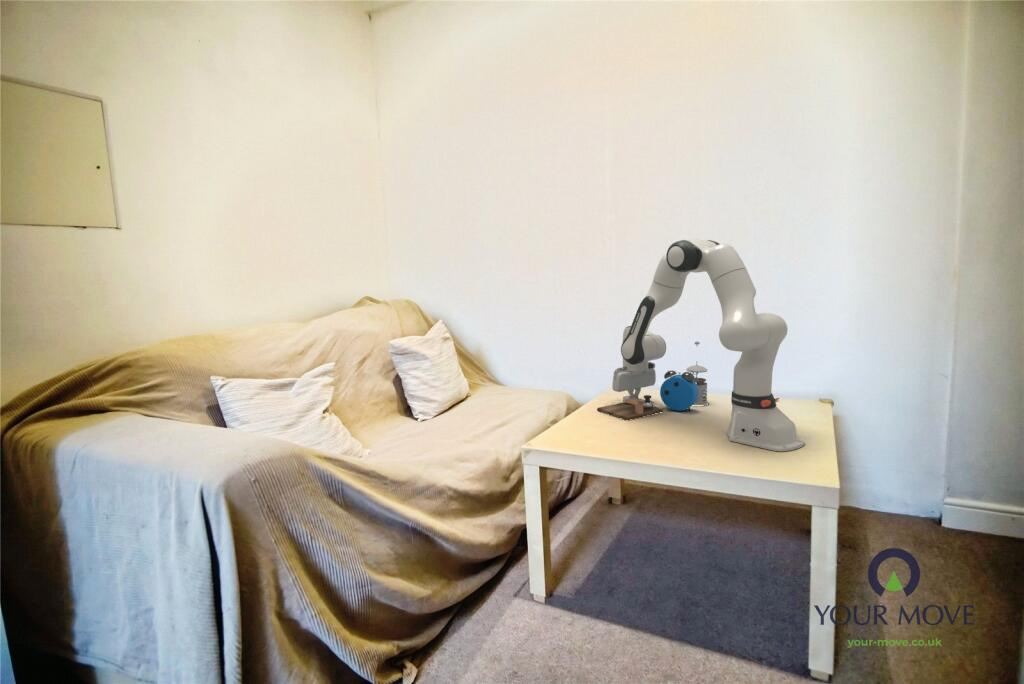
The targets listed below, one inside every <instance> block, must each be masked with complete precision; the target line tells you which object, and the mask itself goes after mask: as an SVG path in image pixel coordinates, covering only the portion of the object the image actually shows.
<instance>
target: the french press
mask: <svg viewBox="0 0 1024 684" xmlns="http://www.w3.org/2000/svg"><path fill="white" fill-rule="evenodd" d="M700 344H701V343H700V342H699V341H698V340H697V341H694V345H696V346H698V345H700ZM686 372H690V373H692V374H693V375H694V377H695V380H694V382H695V383H696V384H697V387H698V390H699V396H698V399H697V401H696V402H695V404H693V405H707V404H708V403H709V401H708V383H707V382H706V381H707V379H706V378H703V377H698V374H699V373H700V374H701V373H707V372H708V369H707V368H706V367H704V366H703V365H698V362H696V365H691V366H688V367H687V368H686ZM707 406H708V405H707Z"/></svg>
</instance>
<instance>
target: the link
mask: <svg viewBox="0 0 1024 684" xmlns="http://www.w3.org/2000/svg"><path fill="white" fill-rule="evenodd" d="M628 398H634V399H637V400H641V401H644V405H643V408H644V409H652V408H654V407H655V406H654V401H651V399H652V395H650V394H649V395H648V394H645V395H643V398H644V399H641V398H639V397H638V398H635V397H632V396H630V395H625V396H622V403H623V402H625V399H628ZM629 404H630V403H629Z"/></svg>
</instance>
